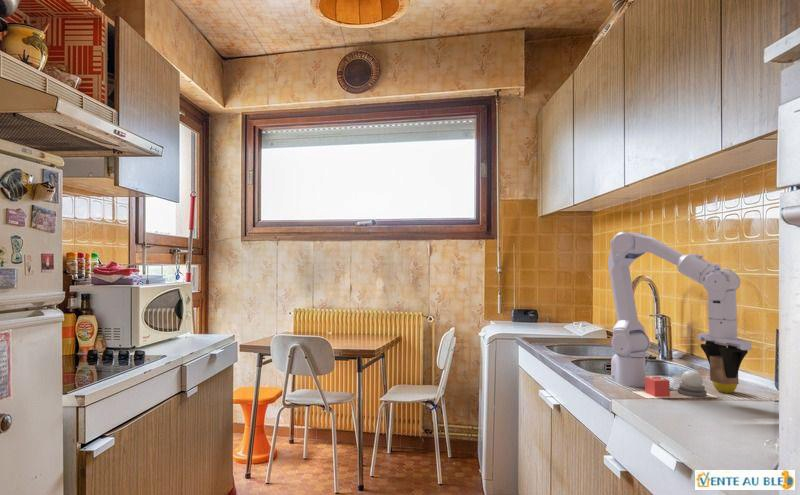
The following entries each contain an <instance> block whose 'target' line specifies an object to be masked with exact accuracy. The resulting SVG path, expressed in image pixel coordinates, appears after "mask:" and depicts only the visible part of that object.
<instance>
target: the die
mask: <svg viewBox="0 0 800 495" xmlns="http://www.w3.org/2000/svg"><path fill="white" fill-rule="evenodd" d="M644 388H645V390H644V391H645V393H648V394H650V395H652V396H655V397H663V396H670V391H671V390H670V388H671V387H670V380H669V379H666V378H665V377H661V376H646V377H645V386H644Z"/></svg>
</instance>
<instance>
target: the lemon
mask: <svg viewBox="0 0 800 495" xmlns="http://www.w3.org/2000/svg"><path fill="white" fill-rule="evenodd" d="M711 382H712V386H713V387H714V389H715V390H716V391H718V392H720V393H723V394H731V393H733V392H734V391H736V389H737V388H738V384H720V383H717V382H714V381H711Z"/></svg>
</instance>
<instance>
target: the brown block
mask: <svg viewBox="0 0 800 495" xmlns="http://www.w3.org/2000/svg"><path fill="white" fill-rule="evenodd" d="M709 380H710V381H711V382H712V381H714V382H717V383H720V384H737V385H739V383H740V382H739V373H738V374H737V377H736V378H727V377H726V374H725V366H724V360H723V357H722V356H710V365H709Z"/></svg>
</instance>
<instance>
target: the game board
mask: <svg viewBox="0 0 800 495" xmlns="http://www.w3.org/2000/svg"><path fill="white" fill-rule="evenodd" d="M631 392H632V393H634V394H636V395H638V396H641V397H642V398H645V399H683V398H684V399H686V398H687V399H690V398H691V399H693V398H695V399H696V398H697V399H698V398H717V395H714V394H711V393H708V392H707V390H705V391H704V392H693V391H686V390H683V389H680V388H679V387H677V390H670V396H663V397H655V396H652V395H650V394H648V393H645V390H644V391H643V390H641V391H640V390H637V391H631Z"/></svg>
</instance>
